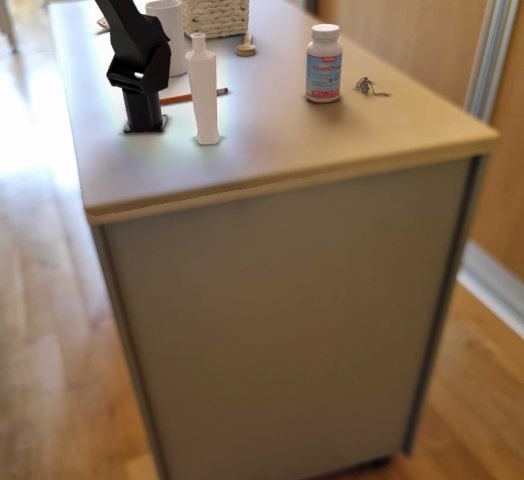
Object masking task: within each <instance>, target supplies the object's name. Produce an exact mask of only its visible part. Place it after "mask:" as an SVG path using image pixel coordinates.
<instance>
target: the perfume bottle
mask: <svg viewBox="0 0 524 480" xmlns="http://www.w3.org/2000/svg"><path fill="white" fill-rule="evenodd" d="M205 35H206V34H203V33H195V34H191V35H190V36H191V37H192V39H191V45H192V49H191V50H190V51H189V52H186V55H185V62H186V67H187V71H186V73H187V79H188V84H189V88H190V94H191V95H192V99H191V100H192V105H193V106H192V107H193V112H194V118H195V122H196V123H195V124H196V130H197V132H196V141H197V143H198V144H199V145H216V144H217V143H218V142H219V141H220V140H221V134H220V132H219V128H218V94H217V89H218V83H217V82H218V81H217V80H218V79H217V53H215V52H213V51H211V50H209V49H207V46H206V39H205Z"/></svg>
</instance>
